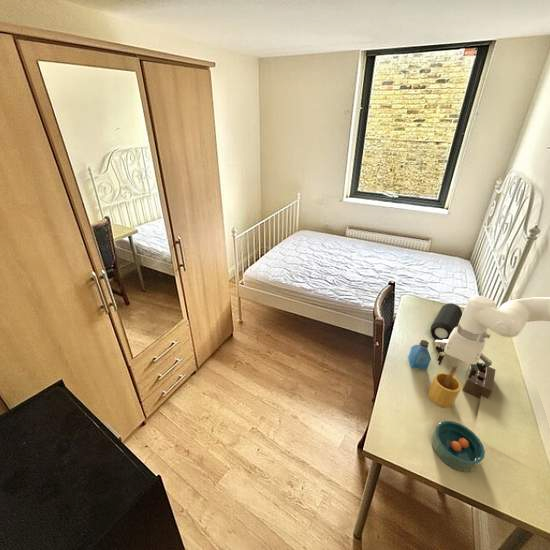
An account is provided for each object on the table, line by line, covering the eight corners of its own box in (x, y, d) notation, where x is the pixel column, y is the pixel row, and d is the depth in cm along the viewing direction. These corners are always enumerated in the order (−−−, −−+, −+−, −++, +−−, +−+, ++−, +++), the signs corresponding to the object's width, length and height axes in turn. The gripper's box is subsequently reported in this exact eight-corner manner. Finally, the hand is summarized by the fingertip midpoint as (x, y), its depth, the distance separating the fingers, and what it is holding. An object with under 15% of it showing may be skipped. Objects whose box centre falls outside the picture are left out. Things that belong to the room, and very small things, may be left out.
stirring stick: (443, 395, 112) (457, 365, 104) (443, 397, 111) (457, 367, 103) (439, 393, 113) (452, 363, 105) (439, 396, 112) (452, 366, 104)
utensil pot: (455, 396, 112) (463, 380, 108) (450, 412, 106) (459, 395, 102) (431, 384, 117) (437, 368, 113) (425, 399, 111) (432, 383, 107)
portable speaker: (448, 347, 136) (455, 330, 132) (426, 338, 142) (432, 321, 137) (459, 321, 154) (465, 306, 149) (439, 314, 159) (444, 298, 154)
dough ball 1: (462, 442, 92) (453, 437, 95) (456, 446, 91) (447, 441, 94) (464, 451, 92) (455, 446, 95) (458, 455, 91) (449, 450, 94)
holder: (490, 379, 120) (495, 369, 117) (486, 401, 111) (492, 391, 108) (467, 370, 124) (472, 359, 121) (462, 390, 115) (467, 379, 112)
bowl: (481, 447, 95) (487, 437, 93) (475, 482, 86) (481, 473, 83) (436, 422, 103) (440, 413, 100) (426, 453, 93) (431, 444, 91)
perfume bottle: (411, 367, 125) (419, 346, 119) (408, 357, 130) (414, 336, 124) (426, 369, 124) (435, 348, 118) (422, 359, 129) (430, 338, 124)
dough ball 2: (454, 440, 96) (457, 447, 93) (459, 434, 95) (463, 441, 92) (463, 444, 96) (467, 452, 93) (468, 438, 95) (472, 445, 92)
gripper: (503, 336, 94) (484, 374, 102) (444, 316, 103) (431, 352, 111) (501, 349, 88) (481, 388, 96) (439, 326, 98) (426, 363, 106)
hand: (454, 368), depth 104 cm, fingers open, 9 cm apart
